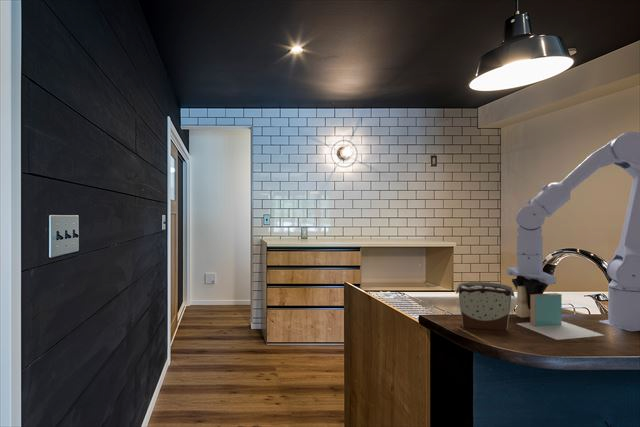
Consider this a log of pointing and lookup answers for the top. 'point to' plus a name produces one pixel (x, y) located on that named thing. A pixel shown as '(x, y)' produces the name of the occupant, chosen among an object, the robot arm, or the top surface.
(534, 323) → the tile
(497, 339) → the top surface
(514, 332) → the top surface
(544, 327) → the mat
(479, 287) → the food container
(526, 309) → the beige upright block
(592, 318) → the top surface
